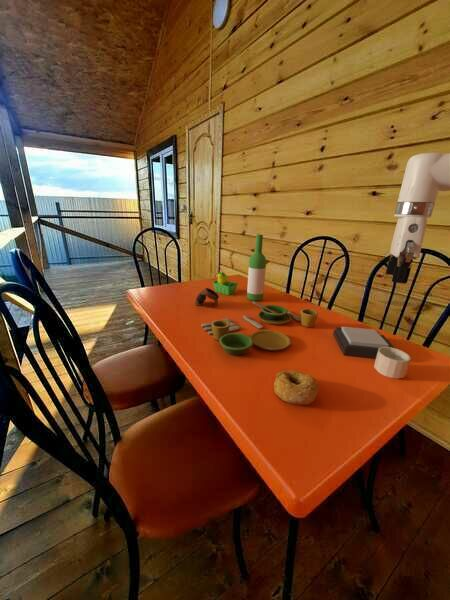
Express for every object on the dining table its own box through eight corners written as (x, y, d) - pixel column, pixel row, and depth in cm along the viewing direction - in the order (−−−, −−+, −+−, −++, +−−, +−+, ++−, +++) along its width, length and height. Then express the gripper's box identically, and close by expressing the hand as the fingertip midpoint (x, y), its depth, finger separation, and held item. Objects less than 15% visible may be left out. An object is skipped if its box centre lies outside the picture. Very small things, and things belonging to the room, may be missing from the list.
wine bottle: (252, 302, 117) (257, 235, 107) (243, 297, 123) (247, 233, 113) (266, 300, 120) (272, 235, 110) (256, 295, 127) (261, 233, 117)
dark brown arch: (199, 300, 118) (208, 286, 116) (214, 312, 116) (224, 298, 114) (186, 301, 107) (196, 285, 105) (202, 315, 105) (213, 299, 103)
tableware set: (285, 309, 110) (287, 295, 107) (338, 337, 86) (341, 320, 84) (195, 325, 92) (195, 308, 90) (230, 365, 69) (231, 345, 66)
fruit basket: (238, 293, 130) (239, 271, 126) (227, 297, 123) (228, 274, 119) (220, 288, 136) (221, 267, 132) (210, 292, 130) (210, 270, 126)
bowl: (397, 365, 71) (402, 348, 69) (410, 381, 64) (416, 363, 63) (369, 362, 72) (374, 345, 70) (379, 377, 66) (384, 359, 64)
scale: (382, 339, 86) (384, 331, 85) (402, 361, 73) (405, 352, 72) (332, 334, 88) (334, 326, 87) (343, 355, 75) (345, 346, 74)
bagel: (307, 377, 65) (309, 361, 63) (324, 409, 54) (328, 391, 53) (268, 377, 64) (270, 361, 63) (278, 409, 54) (281, 391, 52)
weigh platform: (374, 333, 84) (375, 329, 84) (387, 349, 74) (388, 344, 74) (341, 330, 86) (341, 326, 85) (349, 345, 76) (350, 341, 75)
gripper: (444, 211, 54) (420, 288, 59) (421, 211, 69) (404, 273, 74) (403, 209, 56) (384, 284, 62) (389, 210, 71) (375, 270, 77)
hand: (395, 278), depth 68 cm, fingers open, 9 cm apart
